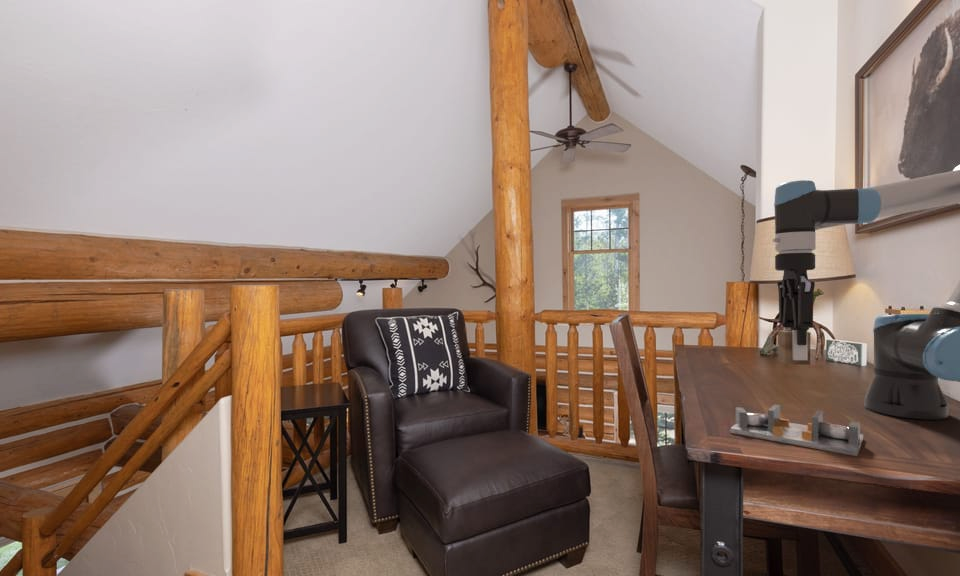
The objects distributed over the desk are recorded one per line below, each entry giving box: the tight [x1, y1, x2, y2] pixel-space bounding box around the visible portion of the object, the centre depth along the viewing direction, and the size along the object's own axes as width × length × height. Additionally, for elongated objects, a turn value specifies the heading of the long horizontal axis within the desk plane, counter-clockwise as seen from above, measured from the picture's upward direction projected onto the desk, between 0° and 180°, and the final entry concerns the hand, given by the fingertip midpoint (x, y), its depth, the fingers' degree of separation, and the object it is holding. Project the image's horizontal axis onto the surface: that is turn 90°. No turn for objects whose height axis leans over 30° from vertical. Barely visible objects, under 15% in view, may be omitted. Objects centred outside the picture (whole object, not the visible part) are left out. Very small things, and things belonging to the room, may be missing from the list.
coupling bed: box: [730, 403, 864, 457], centre depth 101 cm, size 21×12×5 cm, turn 48°
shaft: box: [735, 406, 768, 428], centre depth 105 cm, size 6×4×3 cm
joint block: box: [777, 328, 812, 366], centre depth 111 cm, size 5×4×8 cm
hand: (795, 357), depth 111 cm, fingers closed on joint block, 4 cm apart
